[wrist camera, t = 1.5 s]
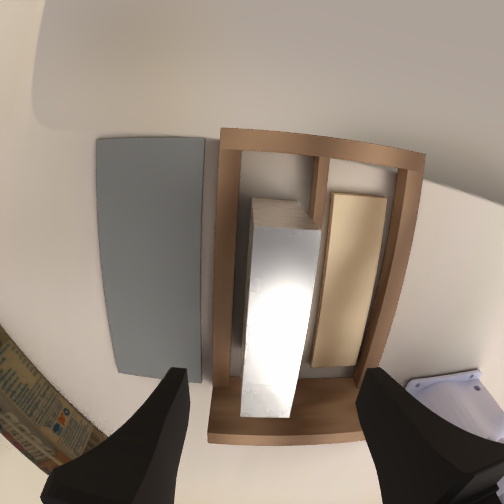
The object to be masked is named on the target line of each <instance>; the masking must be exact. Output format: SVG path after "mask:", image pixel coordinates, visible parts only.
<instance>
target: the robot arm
mask: <svg viewBox="0 0 504 504" xmlns="http://www.w3.org/2000/svg"><path fill="white" fill-rule="evenodd" d="M480 375H481V371H480V370H473V371H468V372H462V373H456V374H450V375H443V376H436V377H429V378H421V379H413V380H411V381H409V382H408V384H407V386H406V388H405V389H404V388H403V387H402V386H401V385H400V384H399V383H397V382H396V381H395V380H394V379H393V378H392V377H391V376H390V375H389V374H387V373H386V372H385V371H384V370H383V369H382V368H380V367H376V368H367V369H366V372H365V376H364V379H363V381H362V384H361V387H360V390H359V393H358V396H357V399H356V401H355V404H356V409H357V414H358V418H359V422H360V425H361V428H362V431H363V434H364V436H365V439H366V442H367V445H368V447H369V450H370V453H371V455H372V458H373V461H374V464H375V467H376V470H377V475H378V480H379V484H380V489H381V495H382V501H383V504H504V412H503V410H502V409H501V408H500V406H499V405H498V403H497V402H496V401H495V399H494V398H493V397H492V396H491V394H490V393H489V392H488V390H487V389H486V388H485V386H484V385H483V384H482V383H481V381H480V380H479V377H480ZM189 411H190V396H189V385H188V374H187V368H178V367H171V368H170V369H169V370H168V371H167V373H166V375H165V376H164V378H163V379H162V380H161V382H160V383H159V385H158V386H157V387H156V389H155V390H154V391H153V393H152V394H151V395H150V396H149V398H148V399H147V400H146V401H145V402H144V404H143V405H142V406H141V407H140V408H139V409H138V410H137V411H136V412H135V413H134V415H133V416H132V417H131V418H130V419H129V420H128V421H127V422H126V423H125V424H123V425H122V426H121V427H120V428H119V429H118V430H117V431H116V432H114V433H113V434H112V435H111V436H109V437H108V438H107V439H105V440H104V441H103V442H101V443H100V444H99V445H97V446H96V447H94V448H92V449H91V450H89V451H87V452H86V453H84V454H83V455H81V456H79V457H77V458H75V459H73V460H71V461H69V462H67V463H65V464H63V465H61V466H58V467H56V468H54V469H53V470H52V472H51V474H50V475H49V477H48V479H47V481H46V483H45V486H44V488H43V491H42V493H41V496H40V498H41V501H42V503H43V504H174V496H175V486H176V477H177V471H178V466H179V462H180V457H181V453H182V449H183V445H184V440H185V436H186V432H187V427H188V420H189Z"/></svg>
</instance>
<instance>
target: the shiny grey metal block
mask: <svg viewBox="0 0 504 504" xmlns="http://www.w3.org/2000/svg"><path fill="white" fill-rule="evenodd" d="M321 235H322V230H321V229H320V228H319V227H318V225H317V224H316V223H315V222H314V220H313V219H312V218H311V217H310V216H309V214H308V213H307V212H306V211H305V210H304V208H303V207H302V206H301V205H300V204H299V202H298V201H292V200H279V199H265V198H252V202H251V217H250V231H249V246H248V261H247V275H246V290H245V305H244V320H243V336H242V357H241V405H240V417H272V418H289V416H290V411H291V407H292V402H293V397H294V393H295V388H296V383H297V378H298V373H299V368H300V363H301V358H302V353H303V348H304V342H305V337H306V331H307V326H308V320H309V314H310V308H311V302H312V296H313V290H314V283H315V277H316V270H317V263H318V256H319V249H320V242H321Z"/></svg>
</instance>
